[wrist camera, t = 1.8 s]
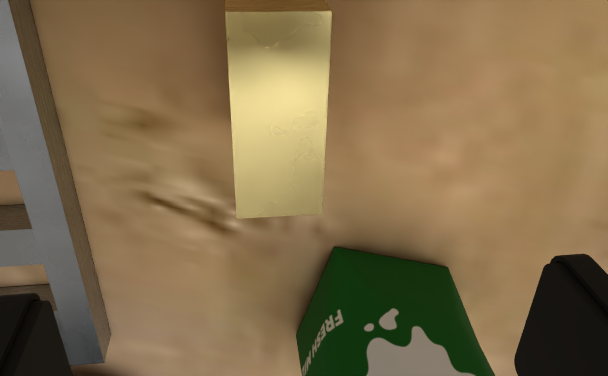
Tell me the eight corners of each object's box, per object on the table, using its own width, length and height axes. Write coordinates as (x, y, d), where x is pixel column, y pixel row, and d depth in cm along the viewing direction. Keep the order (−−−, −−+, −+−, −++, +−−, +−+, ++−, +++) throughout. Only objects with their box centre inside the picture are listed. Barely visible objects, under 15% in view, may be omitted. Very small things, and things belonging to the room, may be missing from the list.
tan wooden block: (224, -34, 20) (225, 12, 15) (301, -34, 21) (332, 11, 15) (233, 130, 24) (236, 218, 18) (298, 127, 25) (322, 214, 19)
